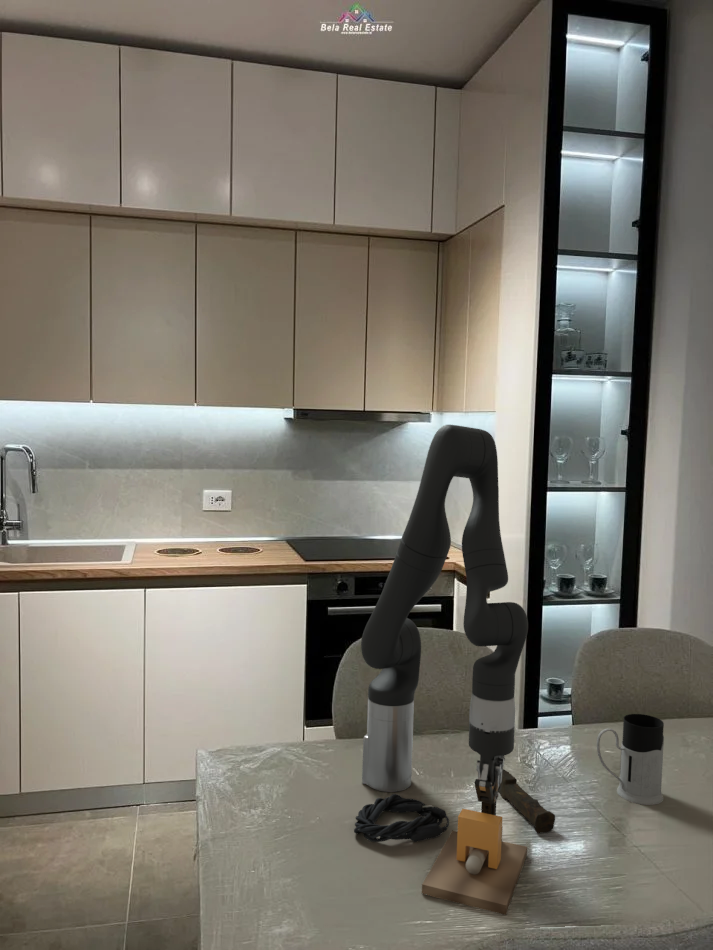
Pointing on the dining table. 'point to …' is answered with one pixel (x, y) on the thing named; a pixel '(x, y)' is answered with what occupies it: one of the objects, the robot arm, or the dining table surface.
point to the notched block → (479, 835)
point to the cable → (400, 829)
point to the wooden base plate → (476, 876)
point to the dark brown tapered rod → (526, 804)
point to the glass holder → (639, 759)
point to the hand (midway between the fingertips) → (488, 821)
